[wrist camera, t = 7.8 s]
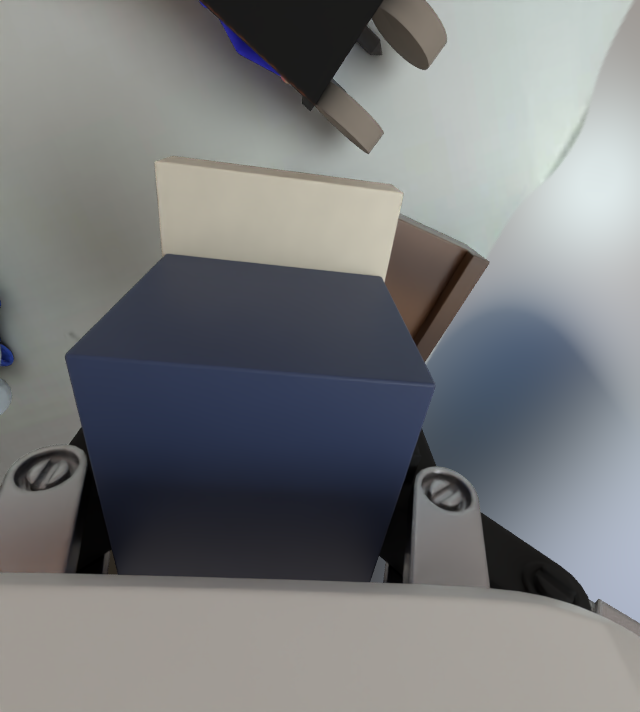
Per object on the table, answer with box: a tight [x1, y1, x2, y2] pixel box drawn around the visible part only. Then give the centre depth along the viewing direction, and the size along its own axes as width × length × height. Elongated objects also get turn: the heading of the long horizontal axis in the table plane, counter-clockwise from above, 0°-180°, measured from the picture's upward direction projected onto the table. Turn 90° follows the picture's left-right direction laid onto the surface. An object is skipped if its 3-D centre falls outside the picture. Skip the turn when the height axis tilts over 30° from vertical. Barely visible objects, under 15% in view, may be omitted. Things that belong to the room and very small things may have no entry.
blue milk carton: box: [65, 156, 435, 582], centre depth 10 cm, size 12×5×6 cm, turn 173°
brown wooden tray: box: [384, 214, 489, 362], centre depth 30 cm, size 28×11×4 cm, turn 157°
